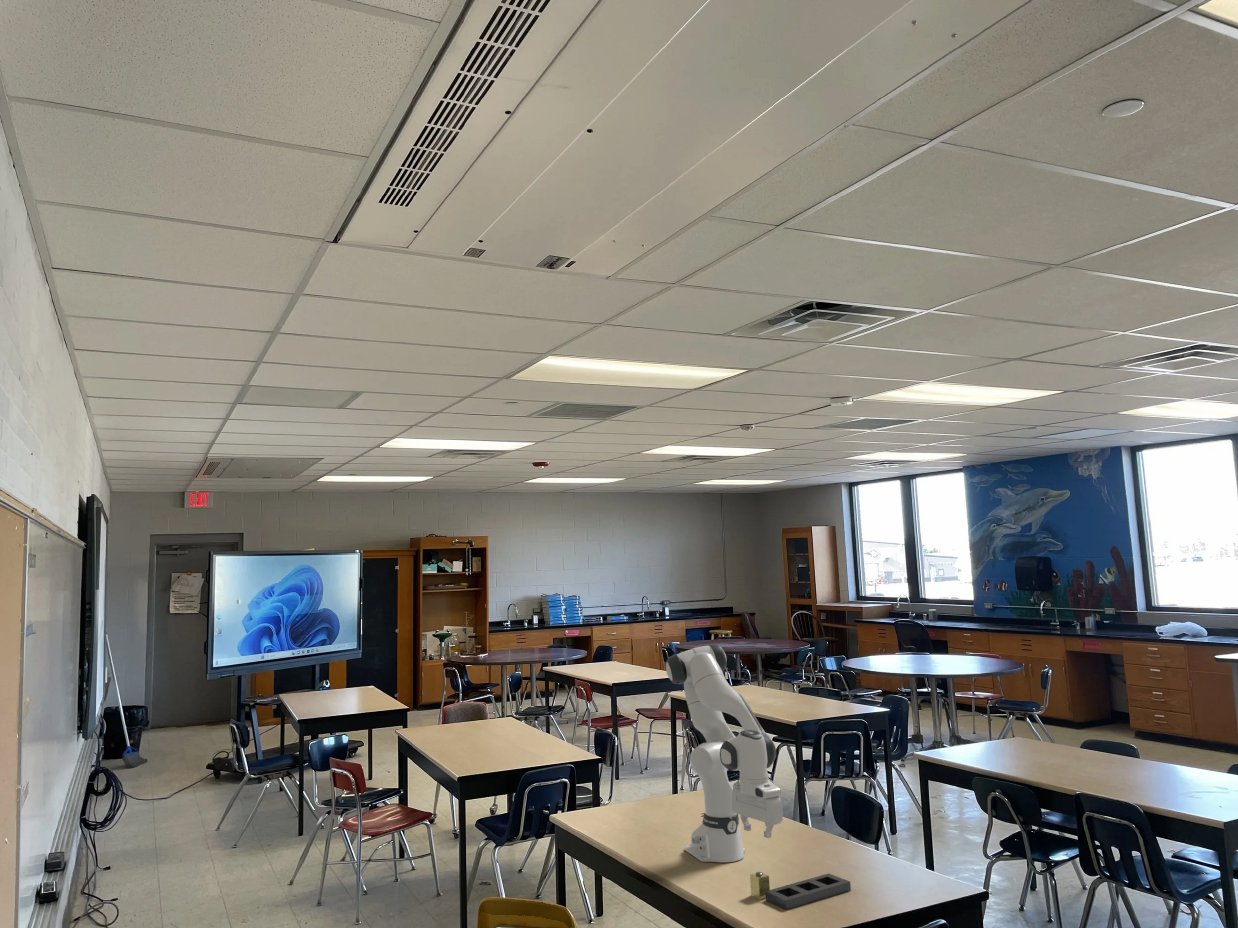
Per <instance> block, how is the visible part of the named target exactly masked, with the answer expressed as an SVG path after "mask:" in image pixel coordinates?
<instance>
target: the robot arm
mask: <svg viewBox="0 0 1238 928" xmlns="http://www.w3.org/2000/svg"><path fill="white" fill-rule="evenodd" d="M727 665H728V663H727V655H726V653H725V650H724V649H723V647H722V646H721V645H719V644H717V643H711V644H708V645H702V646H697V647H692V648H691V649H688V650H685V651H682V652H679V653H677V654H672V655H671V656H669V657H667V660H666V661H665V671H666V675H667V677H668V679H669V680H670V682H672V683H673V684H675V685H683V690H684V695H685V699H686V704H687V707H688V711H689V714H690V717H691V718H690V719H691V722H692V725H693V727H694V728H695V729H696V730H697V731H699V732H700V733H701V734H702V736H703V737H704V739H705V741H706V742H703V743H700V744H699V745H698V746H696V747H695V748H694V749H693V750H692V751H691V753H690V755H689V763H690V766H691V769H692V771H693V772H694V773H696V774H697V776H698V778H699V779H700V782H701V785H702V789H703V795H704V796H703V797H704V810H705V811H704V812H703V813H701V816H700V818H702V823H701V824H700V825H699V826H698V827H697V828H696V829H693V831H692V832H691V837H690V838H691V839H690V841H691V842H690V844H687V845H686V846H684V851H685V852H686V853H688V854H689V855H692V856H693V857H694V858H695V859H697V860H699V861H700V862H702V863H703V862H705V863H709V862H711V863H733V862H738V861H740V860H742V859H743V858H744V857H745V855H744V854H745V852H746V848H745V847H744V846H743V839H742V832H741V827H740V826H739V824H740V821H739V820H741V824H742V825H743V830H744V831H745V832H750V831H751V830H752V824H751V823H750V822H749V819H753V820H756V821H759V822H761V823H764V826H765V827H766V828H765V830H763V837H764V838H766V839H770V838H772V831H773V829H774V826H776V825H777V826H778V825H780V824H782V823H783V816H784V814H783V805H782V800H781V798H780V796H781V795H782V791H781V788H780V787H778V786H777V785H776V784H774V783H773V782H772V780H771V779H769V773H768V768H770V767H772V765H773V763H774V762H775V761H776V757H777V748H776V745H775V743H774V742H773V740H772V739H771V737H770V736H769V735H768V734H767V732H765V730H764V729H763V727H762V725H761V724H760V722H759V720H758V719H757V716H756V715H755V714H754V712H753V710H752V709H751V707H750V705H749V703H748V702H747V701H746V699H745V697H743V695H741V694H740V693H739V692H737V691H736V690H735V689H734V688H732V686H731V685H730V683H728V681H727V679H726V677H725V674H724V672H725V670H726V668H727V667H728V666H727ZM723 713H725V714H728V715H730V716H732V717H734V718H735V719H736V720H737V721H738V722H739V724H740V725H741V727H742V729H743V730H742V731H741V730H740V732H739V733H738V735H737V736H736V735H735V734H734V733H733V731H732V730H731V729H730V727H729V725H728V724H727V721H726V720H725V717H724V714H723ZM728 771H734V772H735V771H739V781H735V782H734V784H731V783H730V781H729V777H728V773H727V772H728ZM739 816H740V817H739ZM739 818H740V819H739ZM748 818H749V819H748Z"/></svg>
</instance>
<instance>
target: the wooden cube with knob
mask: <svg viewBox="0 0 1238 928" xmlns="http://www.w3.org/2000/svg"><path fill="white" fill-rule="evenodd" d="M749 879H750V880H749V881H750V896H751V897H753V898H756V899H757V900H763V899H766V895H765V891H768V890H771V889H770V886H771V885H770V875H769V874H766V873H764V872H761V871H757V872H755V873H751V874H749Z"/></svg>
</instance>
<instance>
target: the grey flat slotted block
mask: <svg viewBox="0 0 1238 928" xmlns="http://www.w3.org/2000/svg"><path fill="white" fill-rule="evenodd" d="M849 891H850V892H851V891H852V888H851V881H850V880H847V879H845V878H842V877H839V876H837V875H834V874H832V873H825V874H822V875H819V876H815V877H811V878H807V879H804V880H800V881H797V882H794V883H793V882H792V883H790V884H786V885H783V886H780V887H775V888H772V889H770V890H768V891H765V895H766V898H765V901H767V902H768V903H771V904H773V905H775V906H777V907H780V908H782V909H784V910H785V911H786V910H791V909H794V908H797V907H800V906H803V905H804V906H805V905H807V904H811V903H814V902H817V901H821V900H823V899H827V898H830V897H833V896H837V895H839V894H843V893H846V892H849Z"/></svg>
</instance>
